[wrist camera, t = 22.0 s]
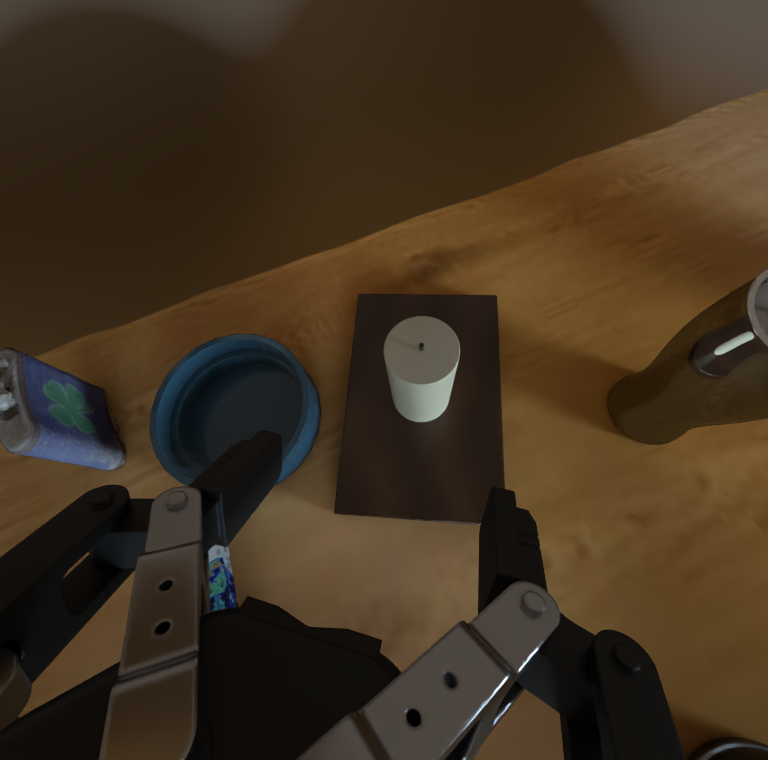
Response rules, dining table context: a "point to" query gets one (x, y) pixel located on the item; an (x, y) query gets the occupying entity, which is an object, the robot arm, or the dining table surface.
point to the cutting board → (423, 439)
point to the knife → (221, 579)
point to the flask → (55, 415)
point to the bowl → (233, 404)
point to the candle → (421, 366)
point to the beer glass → (702, 372)
